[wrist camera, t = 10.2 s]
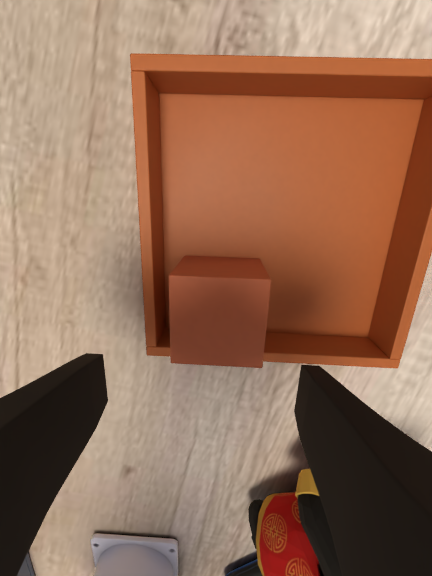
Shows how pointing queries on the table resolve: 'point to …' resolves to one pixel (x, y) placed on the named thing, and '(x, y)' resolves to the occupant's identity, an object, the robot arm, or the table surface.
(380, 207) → the orange tray
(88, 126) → the table surface
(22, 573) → the blue tray
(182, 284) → the terracotta block
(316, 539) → the figurine
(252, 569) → the game console
